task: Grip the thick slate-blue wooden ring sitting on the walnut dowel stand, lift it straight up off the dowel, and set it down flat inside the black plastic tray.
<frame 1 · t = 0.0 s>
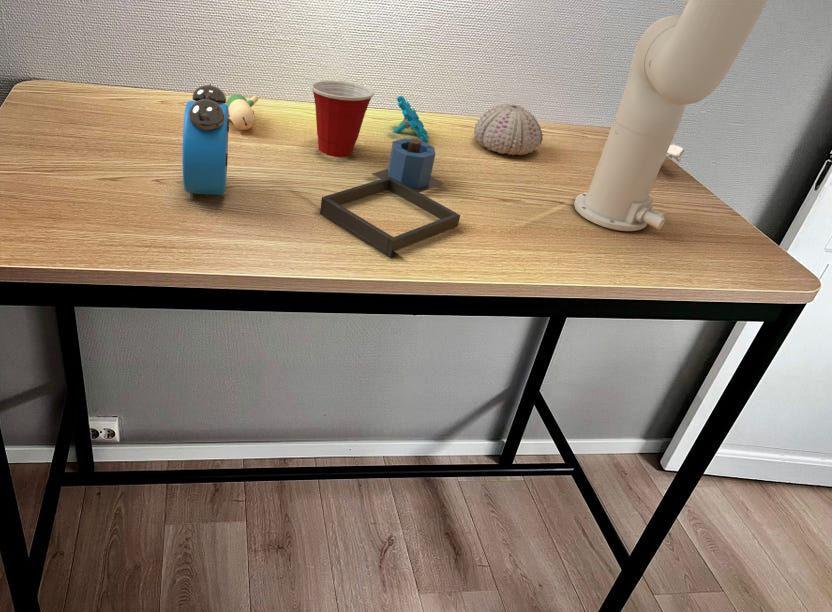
sea urchin shell: (503, 147, 143), on the table
toy figurine: (237, 123, 135), on the table
alarm clock: (206, 191, 112), on the table
ring: (408, 178, 123), point 1 cm above the table, touching dowel stand
tray: (388, 222, 111), on the table
heart: (641, 166, 145), on the table
plastic cup: (334, 155, 129), on the table
dowel stand: (407, 184, 123), on the table
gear: (409, 138, 140), on the table
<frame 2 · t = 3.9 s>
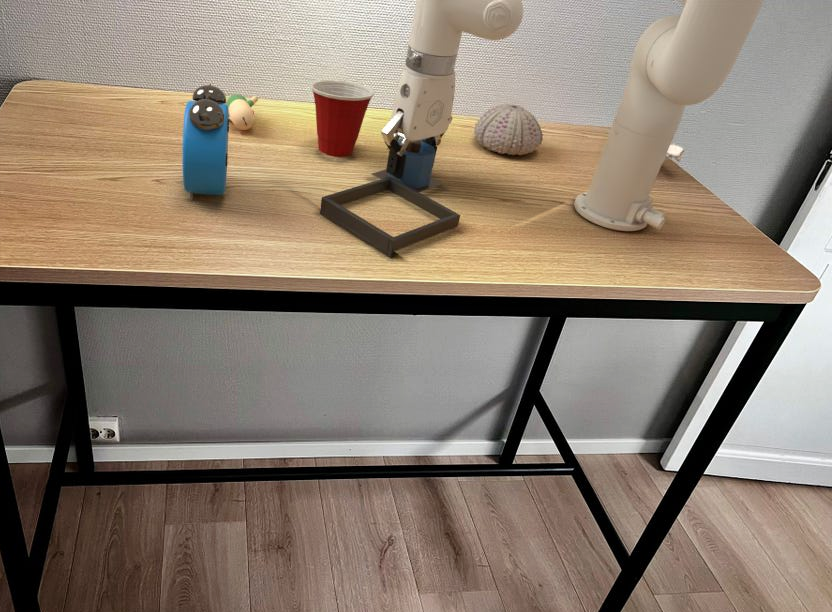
hand: (409, 169, 122), 3 cm above the table, tool pointing down, fingers closed on ring, 7 cm apart
ring: (408, 178, 123), point 1 cm above the table, touching dowel stand, gripper
everything else where it was.
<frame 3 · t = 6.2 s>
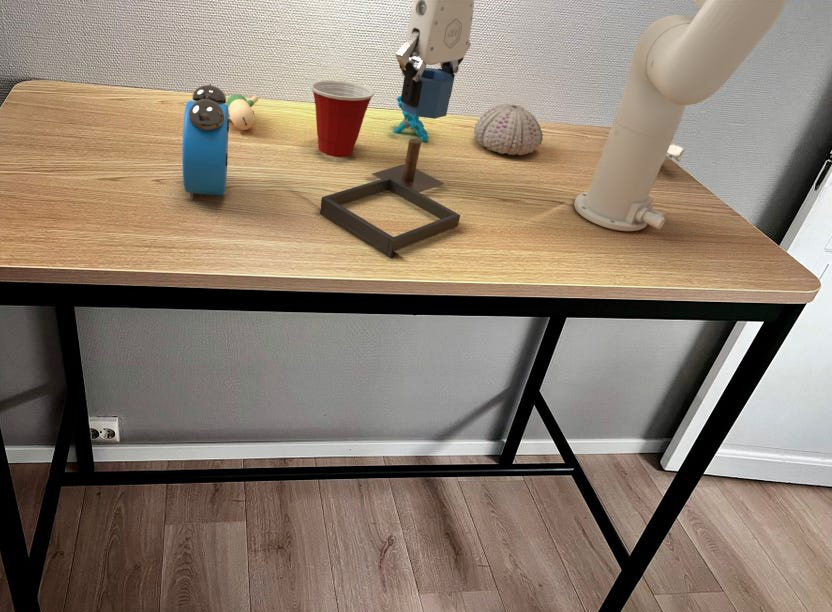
hand: (425, 99, 114), 14 cm above the table, tool pointing down, fingers closed on ring, 7 cm apart
ring: (423, 109, 115), point 13 cm above the table, touching gripper
everything else where it was.
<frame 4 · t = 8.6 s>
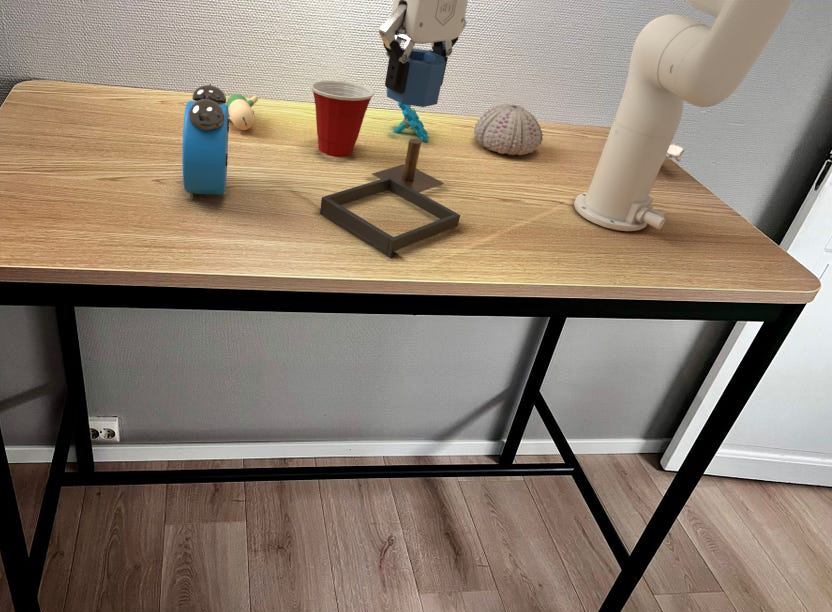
hand: (413, 85, 99), 21 cm above the table, tool pointing down, fingers closed on ring, 7 cm apart
ring: (411, 97, 100), point 19 cm above the table, touching gripper
everything else where it was.
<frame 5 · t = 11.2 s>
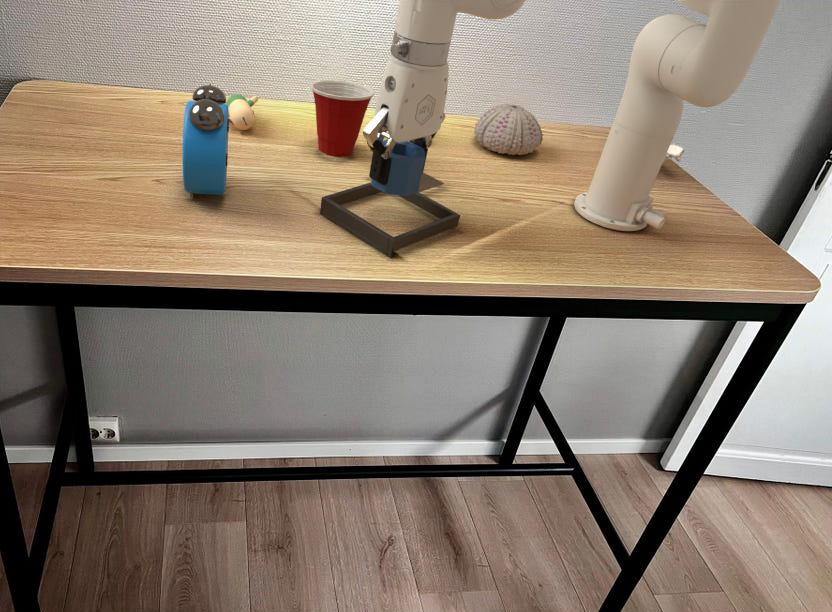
hand: (396, 174, 107), 8 cm above the table, tool pointing down, fingers closed on ring, 7 cm apart
ring: (394, 184, 108), point 6 cm above the table, touching gripper
everything else where it was.
when the fingers open (2 cm above the table, at t = 13.2 s): ring stays where it is, resting on tray.
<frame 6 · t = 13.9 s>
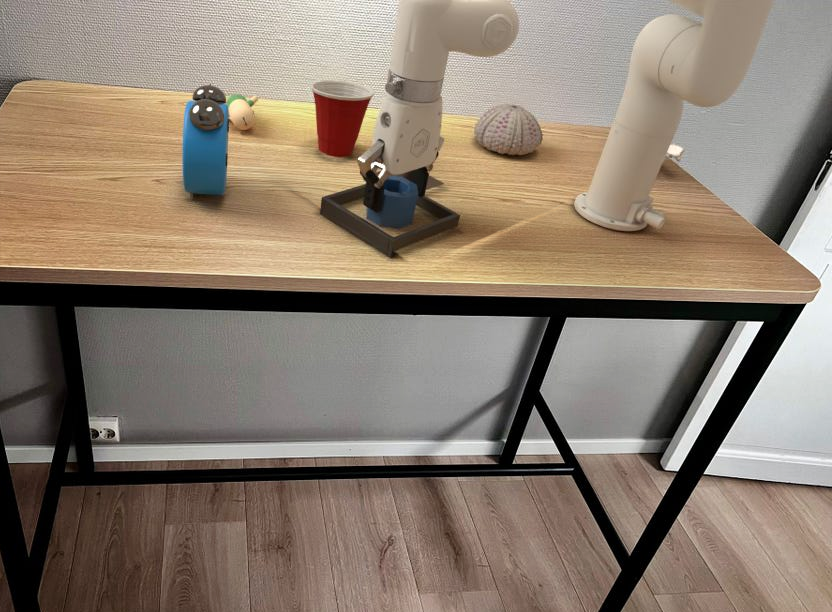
hand: (394, 200, 109), 4 cm above the table, tool pointing down, fingers open, 9 cm apart
ring: (388, 219, 111), point 1 cm above the table, touching tray
everything else where it was.
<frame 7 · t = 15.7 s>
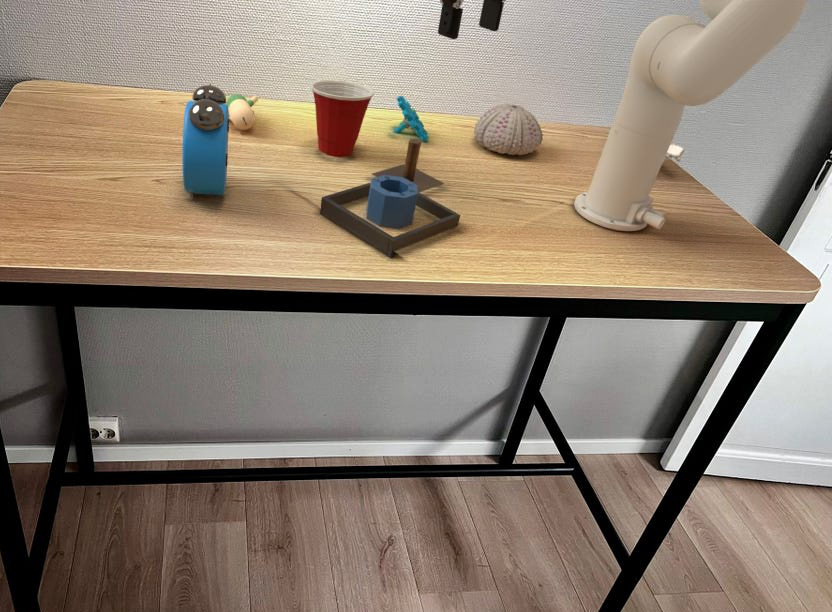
hand: (468, 32, 105), 26 cm above the table, tool pointing down, fingers open, 9 cm apart
nothing on the table moved.
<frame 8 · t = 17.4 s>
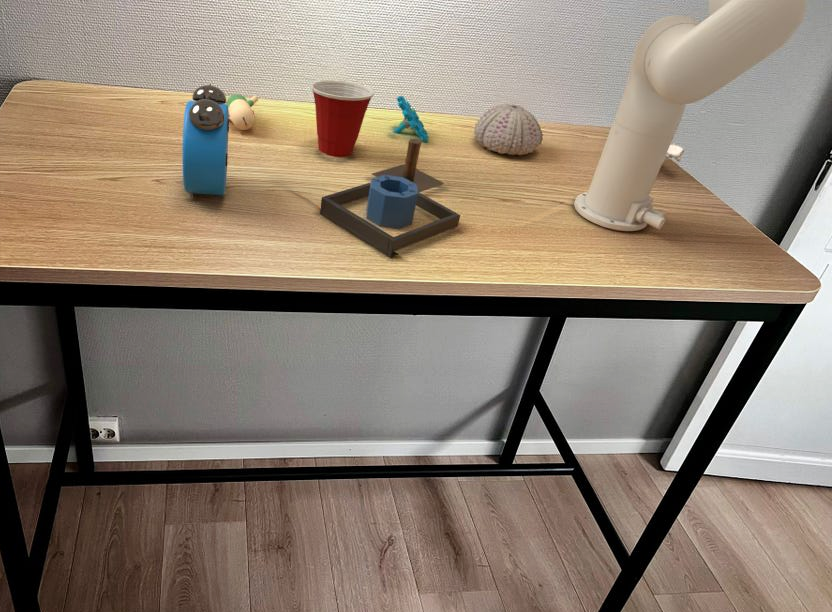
nothing on the table moved.
at the end: ring inside the target area in the tray (0.1 cm from its centre), point 0.6 cm above the tray's base; ring tilted 0°; the gripper is holding nothing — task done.
